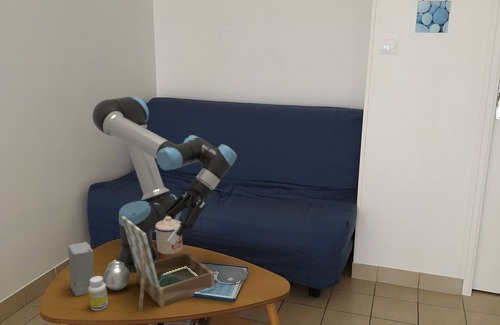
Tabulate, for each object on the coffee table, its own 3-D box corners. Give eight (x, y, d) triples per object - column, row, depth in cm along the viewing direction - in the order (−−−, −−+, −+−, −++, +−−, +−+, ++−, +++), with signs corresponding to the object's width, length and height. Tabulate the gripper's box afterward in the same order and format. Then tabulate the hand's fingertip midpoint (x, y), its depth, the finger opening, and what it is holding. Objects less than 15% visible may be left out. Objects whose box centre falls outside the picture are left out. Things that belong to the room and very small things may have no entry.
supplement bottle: (92, 302, 151) (89, 275, 149) (109, 301, 152) (107, 274, 149) (88, 311, 146) (85, 283, 144) (106, 310, 147) (103, 282, 144)
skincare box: (70, 287, 161) (65, 245, 157) (90, 281, 165) (86, 240, 161) (76, 297, 154) (71, 254, 150) (97, 291, 158) (93, 248, 154)
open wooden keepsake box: (119, 289, 161) (113, 217, 154) (187, 268, 175) (184, 202, 169) (141, 315, 145) (135, 237, 138) (214, 290, 159) (212, 218, 153)
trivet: (207, 274, 169) (207, 272, 169) (235, 265, 176) (235, 263, 175) (225, 288, 159) (225, 285, 159) (253, 278, 166) (253, 275, 166)
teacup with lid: (176, 256, 152) (174, 223, 149) (151, 253, 155) (149, 220, 152) (191, 241, 163) (189, 210, 160) (167, 238, 166) (166, 208, 163)
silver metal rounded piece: (134, 281, 165) (132, 255, 162) (127, 295, 156) (125, 267, 153) (109, 281, 165) (106, 255, 162) (100, 295, 156) (98, 268, 153)
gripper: (227, 198, 154) (186, 254, 149) (196, 183, 171) (158, 233, 166) (213, 186, 150) (170, 243, 145) (182, 171, 167) (143, 222, 162)
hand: (164, 237), depth 155 cm, fingers closed on teacup with lid, 9 cm apart
